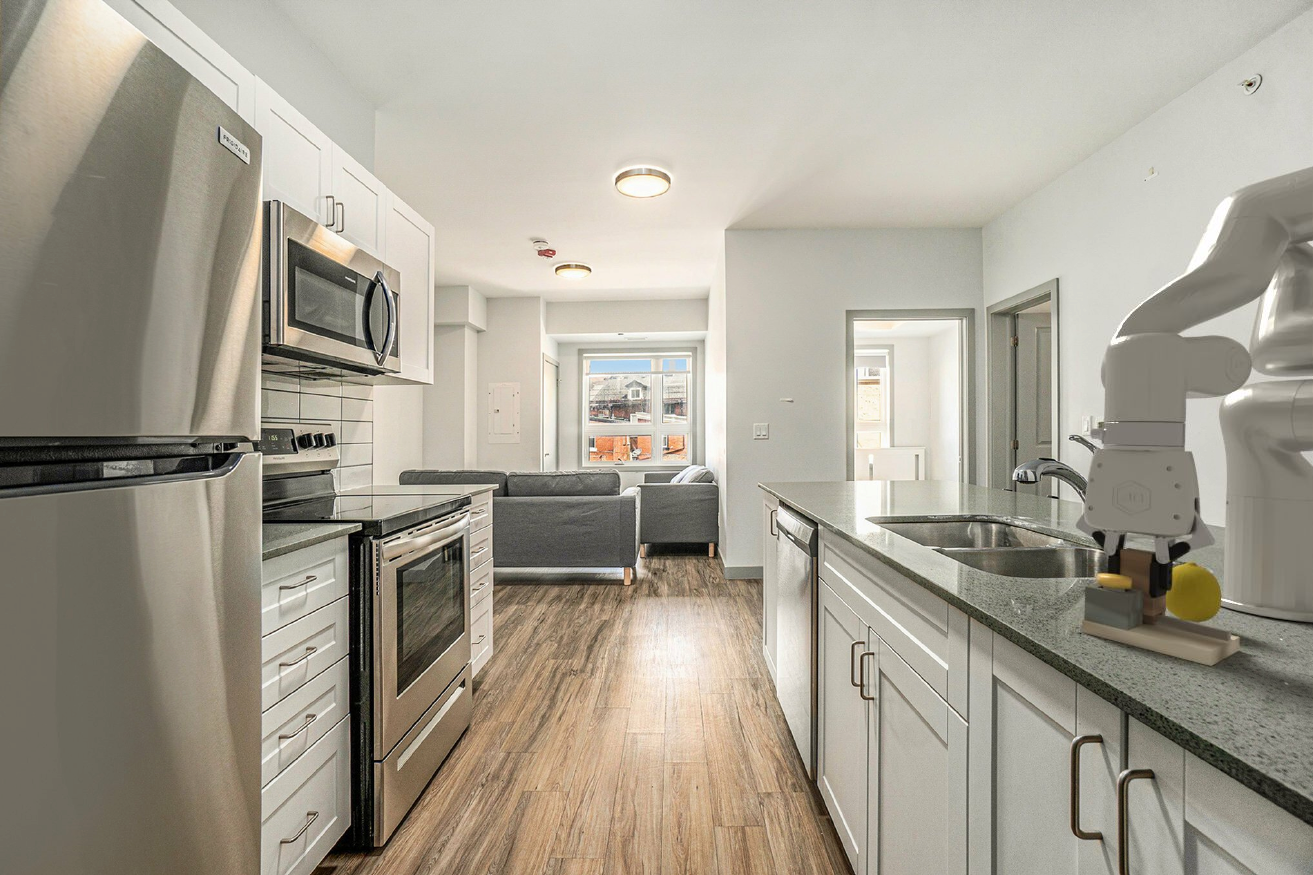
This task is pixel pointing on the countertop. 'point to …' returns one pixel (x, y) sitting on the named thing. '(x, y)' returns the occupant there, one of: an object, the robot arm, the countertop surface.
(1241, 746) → the countertop surface
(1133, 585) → the block
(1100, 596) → the rail base
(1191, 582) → the lemon
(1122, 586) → the button
